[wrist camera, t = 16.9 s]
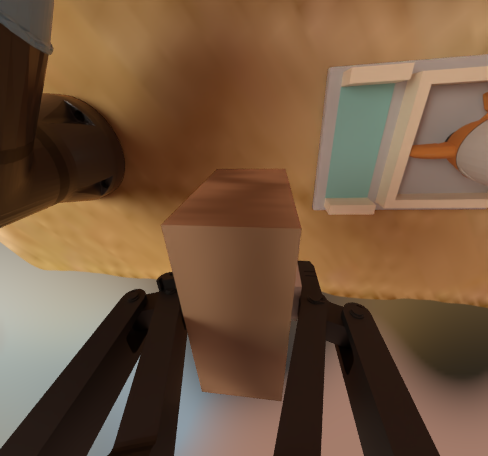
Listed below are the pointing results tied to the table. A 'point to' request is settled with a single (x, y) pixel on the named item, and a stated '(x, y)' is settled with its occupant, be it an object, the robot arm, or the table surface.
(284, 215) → the wing block
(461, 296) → the table surface
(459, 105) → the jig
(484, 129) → the toy rocket
